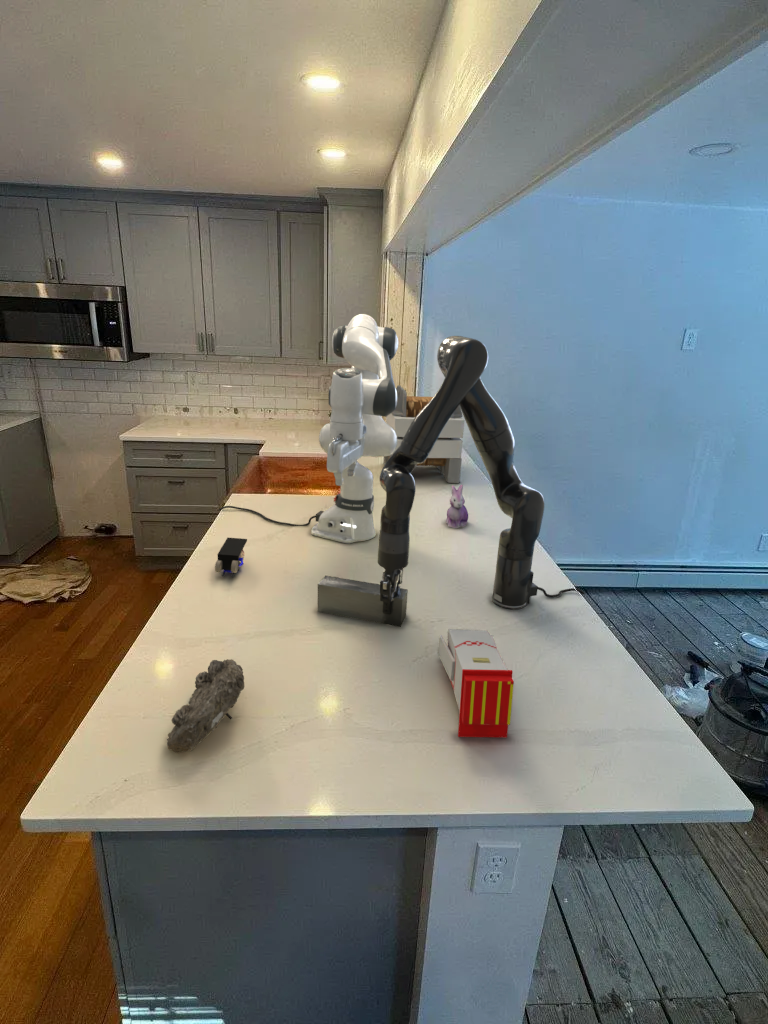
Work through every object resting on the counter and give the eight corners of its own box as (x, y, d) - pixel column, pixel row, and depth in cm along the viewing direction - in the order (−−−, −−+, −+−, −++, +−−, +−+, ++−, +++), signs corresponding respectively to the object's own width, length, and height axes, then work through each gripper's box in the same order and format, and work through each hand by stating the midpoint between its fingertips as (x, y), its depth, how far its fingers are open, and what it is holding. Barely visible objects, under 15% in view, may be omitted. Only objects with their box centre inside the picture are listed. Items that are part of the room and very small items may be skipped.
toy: (488, 613, 130) (523, 677, 101) (484, 667, 133) (517, 744, 104) (435, 612, 130) (455, 676, 101) (432, 666, 133) (451, 743, 103)
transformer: (382, 463, 289) (386, 382, 275) (445, 464, 293) (451, 384, 279) (390, 482, 257) (394, 392, 243) (460, 483, 261) (468, 394, 247)
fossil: (192, 660, 117) (244, 628, 112) (224, 691, 120) (276, 661, 115) (142, 746, 98) (202, 712, 93) (182, 779, 101) (242, 748, 96)
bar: (317, 611, 147) (317, 584, 144) (325, 601, 152) (325, 575, 149) (400, 627, 141) (402, 599, 139) (406, 616, 146) (407, 589, 144)
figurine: (453, 530, 205) (457, 490, 200) (438, 521, 213) (441, 482, 208) (475, 527, 209) (479, 488, 204) (459, 517, 217) (462, 480, 212)
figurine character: (238, 584, 162) (249, 557, 175) (236, 562, 158) (247, 536, 172) (215, 584, 161) (227, 556, 175) (212, 561, 158) (225, 535, 171)
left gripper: (344, 439, 142) (343, 492, 147) (368, 425, 161) (367, 472, 165) (320, 437, 144) (320, 489, 148) (347, 423, 162) (346, 470, 167)
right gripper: (401, 560, 131) (397, 624, 136) (415, 538, 144) (411, 597, 149) (370, 555, 132) (367, 618, 138) (386, 533, 145) (384, 592, 151)
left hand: (345, 480), depth 157 cm, fingers open, 8 cm apart
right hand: (390, 607), depth 144 cm, fingers closed on bar, 5 cm apart
